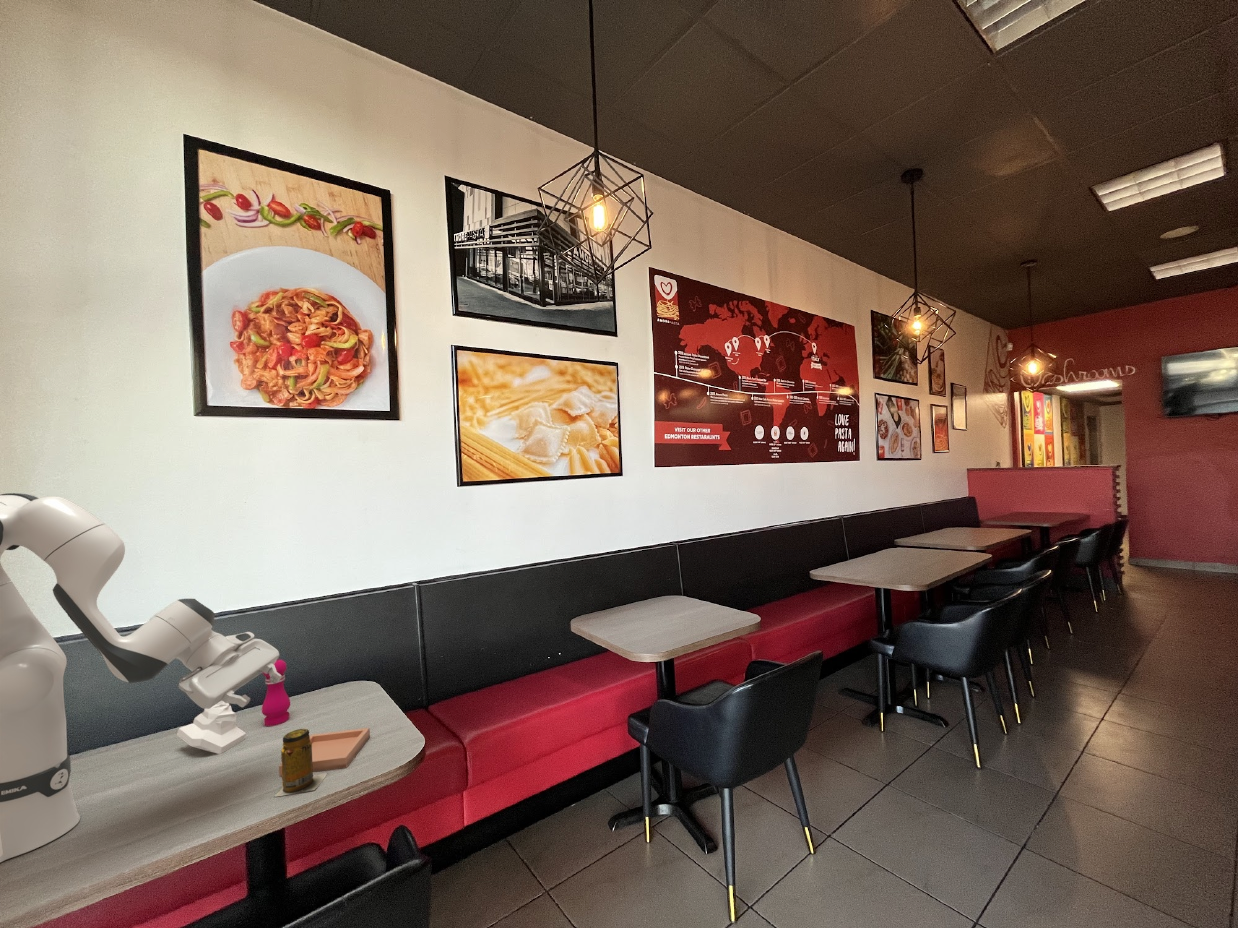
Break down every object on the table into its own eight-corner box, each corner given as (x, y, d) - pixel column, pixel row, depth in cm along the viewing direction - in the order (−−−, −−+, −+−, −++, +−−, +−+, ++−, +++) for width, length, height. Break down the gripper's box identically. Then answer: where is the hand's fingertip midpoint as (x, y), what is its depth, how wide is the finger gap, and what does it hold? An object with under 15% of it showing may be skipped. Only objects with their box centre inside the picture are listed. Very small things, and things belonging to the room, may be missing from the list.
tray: (279, 776, 122) (279, 765, 122) (310, 743, 137) (310, 734, 137) (346, 767, 124) (345, 757, 124) (369, 736, 139) (369, 727, 139)
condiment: (289, 779, 120) (287, 728, 121) (327, 773, 122) (325, 723, 122) (274, 797, 113) (271, 743, 114) (314, 791, 115) (312, 737, 115)
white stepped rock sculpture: (227, 736, 149) (241, 685, 152) (246, 753, 140) (261, 699, 143) (173, 744, 139) (190, 690, 142) (191, 763, 130) (208, 705, 133)
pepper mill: (296, 715, 156) (293, 650, 157) (278, 726, 149) (275, 658, 150) (275, 716, 157) (272, 651, 158) (256, 727, 150) (253, 659, 151)
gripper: (178, 671, 108) (231, 708, 108) (255, 628, 128) (300, 659, 128) (166, 693, 109) (219, 729, 109) (244, 646, 129) (288, 677, 129)
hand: (263, 691), depth 119 cm, fingers open, 8 cm apart
